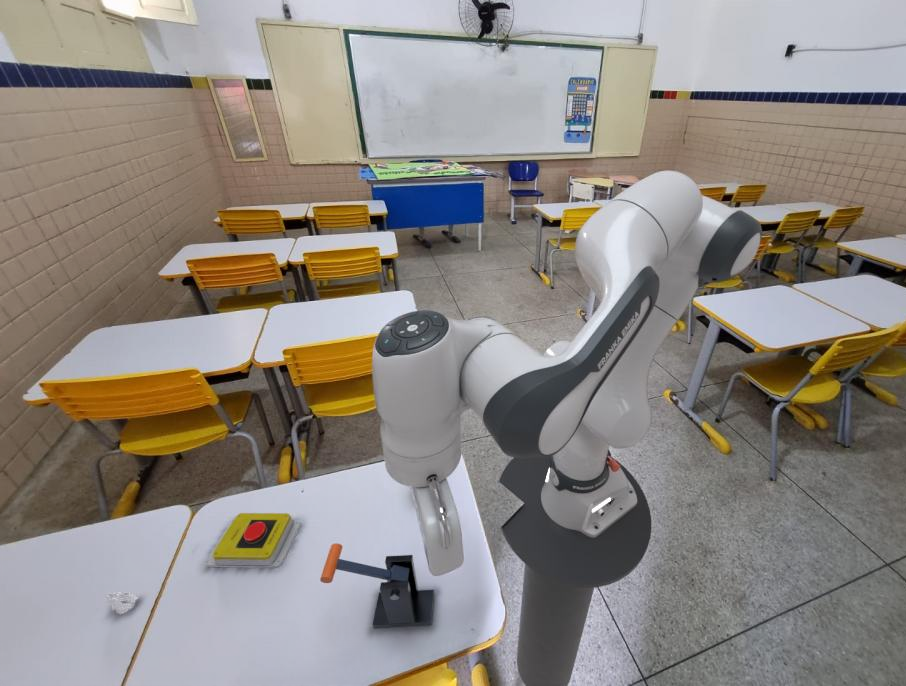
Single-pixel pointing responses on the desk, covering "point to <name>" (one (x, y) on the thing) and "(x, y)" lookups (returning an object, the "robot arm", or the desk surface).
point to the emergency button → (255, 541)
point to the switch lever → (359, 568)
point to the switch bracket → (403, 599)
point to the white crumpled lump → (118, 600)
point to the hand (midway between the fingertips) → (429, 518)
